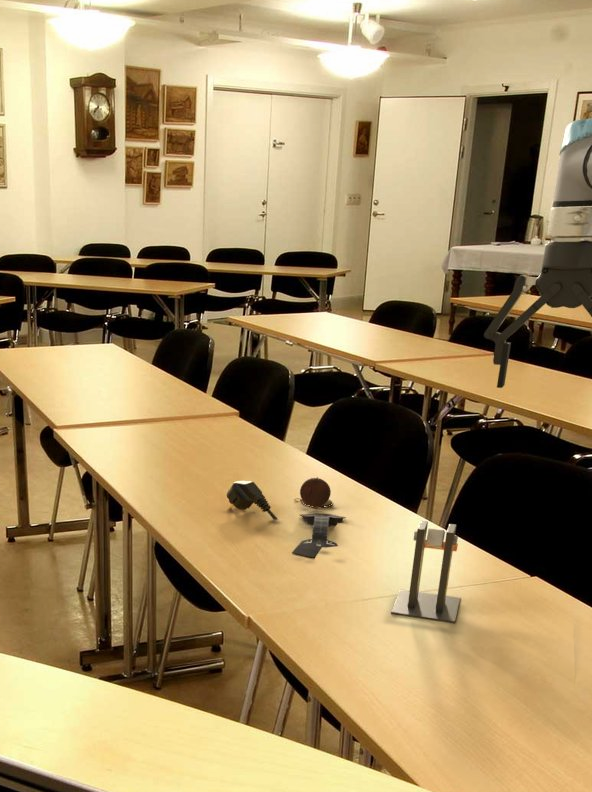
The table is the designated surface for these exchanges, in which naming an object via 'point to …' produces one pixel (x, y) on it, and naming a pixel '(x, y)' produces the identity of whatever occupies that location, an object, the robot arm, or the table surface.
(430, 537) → the lever
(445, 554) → the stand
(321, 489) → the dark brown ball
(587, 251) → the robot arm
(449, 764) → the table surface
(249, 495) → the power plug
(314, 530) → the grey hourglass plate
